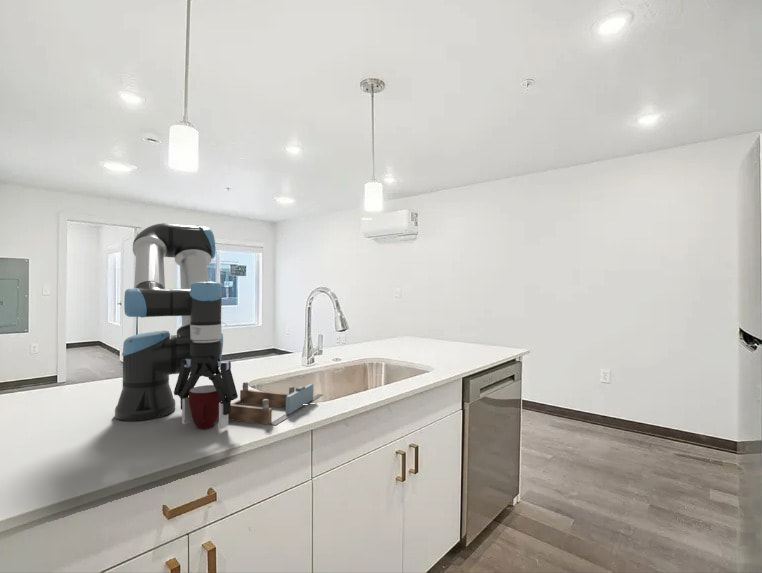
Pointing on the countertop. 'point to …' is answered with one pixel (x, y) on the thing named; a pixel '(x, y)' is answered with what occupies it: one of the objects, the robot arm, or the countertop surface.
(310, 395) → the gate
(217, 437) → the countertop surface
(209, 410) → the mug
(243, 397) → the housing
